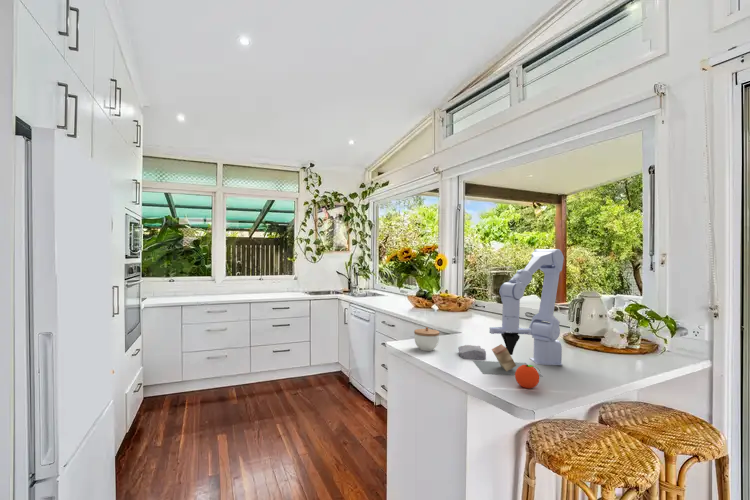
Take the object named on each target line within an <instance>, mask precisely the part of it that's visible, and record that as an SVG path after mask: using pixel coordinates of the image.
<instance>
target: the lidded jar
mask: <svg viewBox="0 0 750 500" xmlns="http://www.w3.org/2000/svg"><path fill="white" fill-rule="evenodd" d="M413 333H414V343H415V345H416V346H417V348H418V350H420V351H424V352H433V351H434V350H435V349H436V348H437V346H438V344H439V341H440V331H438V330H436V329H431V328H429V327H428V326H425V328H417V329H414V331H413Z"/></svg>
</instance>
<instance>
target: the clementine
mask: <svg viewBox="0 0 750 500" xmlns="http://www.w3.org/2000/svg"><path fill="white" fill-rule="evenodd" d="M536 368H537V369H536ZM538 373H539V374H541V369H538V367H537V366H535V365H533V364H528V365H522V366H520V367H518V368H517V370H516V372H515V375H514V377H515V380H516V382H517V384H518V385H519V386H520V387H522V388H525V389H533V388H535V387H536V386H537V385H539V382H540V376H539V374H538Z"/></svg>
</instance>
